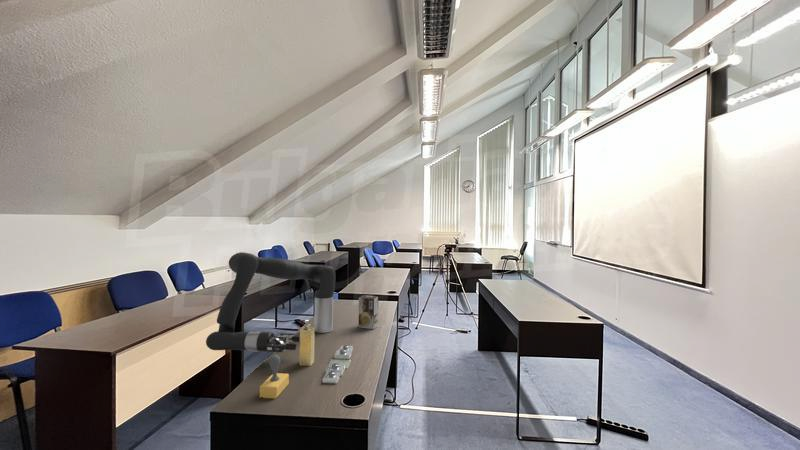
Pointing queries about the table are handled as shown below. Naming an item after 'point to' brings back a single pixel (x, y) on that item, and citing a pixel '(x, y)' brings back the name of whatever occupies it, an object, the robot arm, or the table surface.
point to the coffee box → (368, 311)
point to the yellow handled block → (274, 380)
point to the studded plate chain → (338, 364)
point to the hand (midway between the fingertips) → (299, 342)
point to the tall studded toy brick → (307, 345)
